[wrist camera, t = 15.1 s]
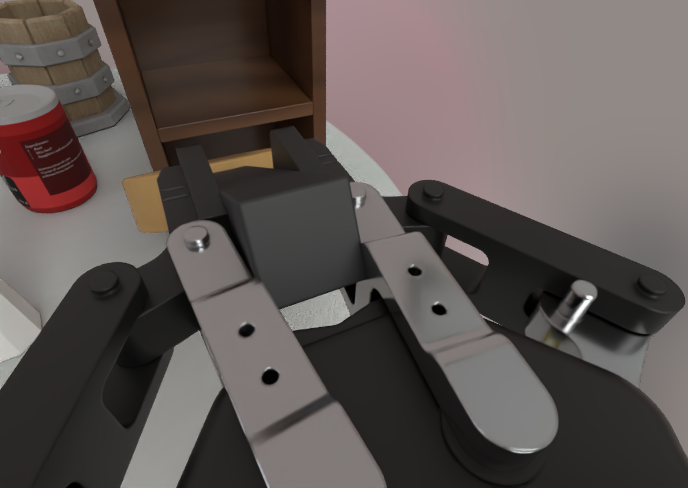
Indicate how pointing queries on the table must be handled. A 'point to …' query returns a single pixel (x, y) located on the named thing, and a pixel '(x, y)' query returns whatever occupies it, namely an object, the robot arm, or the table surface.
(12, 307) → the salt shaker
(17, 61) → the tankard
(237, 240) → the disc with black handle
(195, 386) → the table surface
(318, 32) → the wooden cabinet
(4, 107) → the canned food
